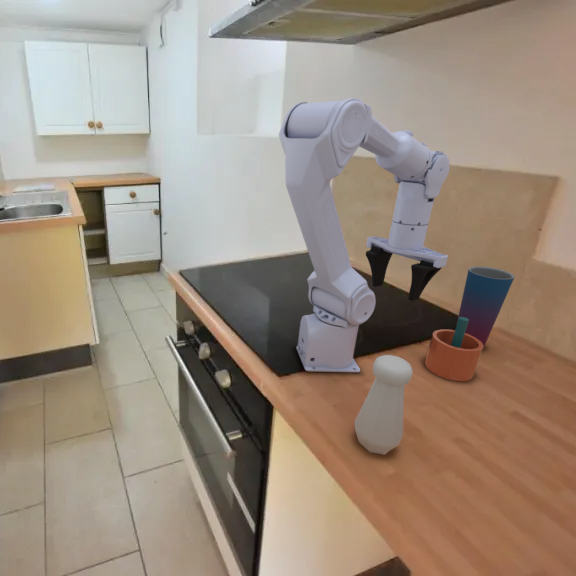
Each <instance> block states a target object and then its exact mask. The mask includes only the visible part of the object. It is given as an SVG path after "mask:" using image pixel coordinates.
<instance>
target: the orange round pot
mask: <svg viewBox="0 0 576 576" xmlns="http://www.w3.org/2000/svg"><path fill="white" fill-rule="evenodd" d="M454 332H455V329H444V328H442V329H437V330H434V331H433V332H432V334H431V338H430V340H429V345H428V348H427V352H426V356H425V362H424V366H425V367H426V369H428V371H430V372H431V373H432V374H434V375H436V376H438V377H439V378H443V379H446V380H449V381H455V382H467V381H470V380H472V379H473V378H474V375H475V373H476V371H477V367H478V365H479V361H480V359H481V355H482V353H483V349H484V348H483V344H482V342H481V341H480V340H478V339H477V338H475V337H473V336H471V335H469V334H466V333H465V334H464V337H463V341H462V344H461V347H460V348H457V347H454V346H451V342H452V339H453V336H454Z"/></svg>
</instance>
